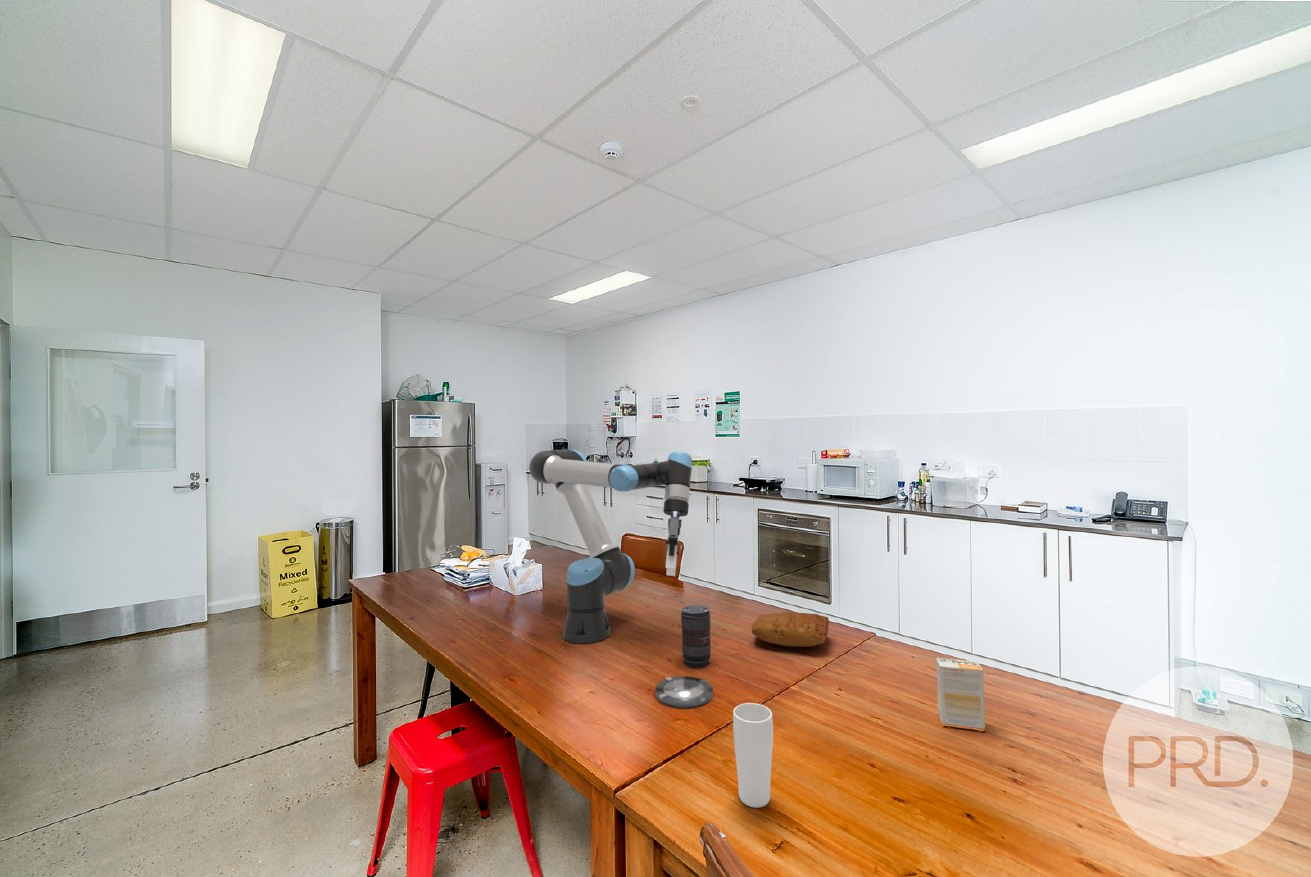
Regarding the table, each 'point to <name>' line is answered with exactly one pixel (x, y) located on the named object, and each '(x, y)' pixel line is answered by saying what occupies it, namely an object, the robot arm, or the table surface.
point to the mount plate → (684, 692)
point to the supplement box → (960, 693)
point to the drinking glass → (753, 752)
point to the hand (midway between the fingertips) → (670, 572)
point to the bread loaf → (792, 629)
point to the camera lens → (696, 635)
